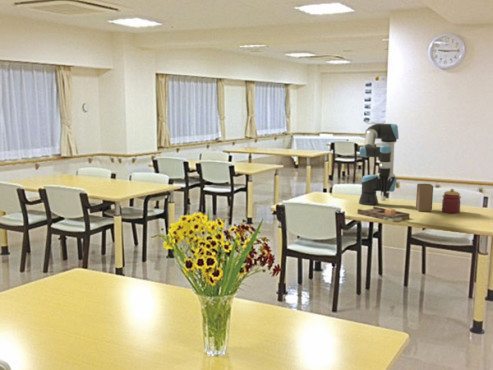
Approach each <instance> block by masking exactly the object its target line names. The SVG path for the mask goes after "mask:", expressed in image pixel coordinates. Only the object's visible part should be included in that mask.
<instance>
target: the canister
mask: <svg viewBox="0 0 493 370" xmlns="http://www.w3.org/2000/svg"><path fill="white" fill-rule="evenodd" d="M461 198H462V197H461V193H460V192H458V191H455V189H454V188H450V189H449V190H446V191H445V192H443V195H442V203H441V212H442V213H445V214H452V215H453V214H460V213H461V202H462V201H461Z"/></svg>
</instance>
